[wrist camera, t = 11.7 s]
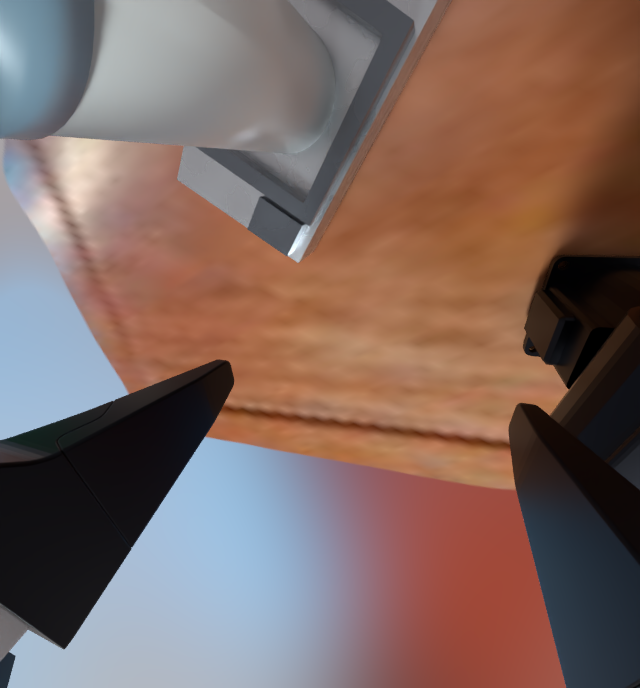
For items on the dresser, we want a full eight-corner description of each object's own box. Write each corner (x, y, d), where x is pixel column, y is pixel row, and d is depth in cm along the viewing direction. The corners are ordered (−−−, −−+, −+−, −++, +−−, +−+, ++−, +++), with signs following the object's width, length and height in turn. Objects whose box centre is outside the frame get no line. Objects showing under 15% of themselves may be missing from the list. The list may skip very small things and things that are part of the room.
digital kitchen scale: (462, -20, 13) (474, -85, 10) (313, 251, 21) (291, 268, 18) (291, -147, 13) (239, -262, 9) (206, 177, 21) (162, 180, 17)
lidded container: (359, 59, 13) (-10, -498, 2) (305, 176, 16) (39, 203, 5) (259, -13, 13) (-719, -1039, 2) (224, 119, 16) (-235, 19, 5)
